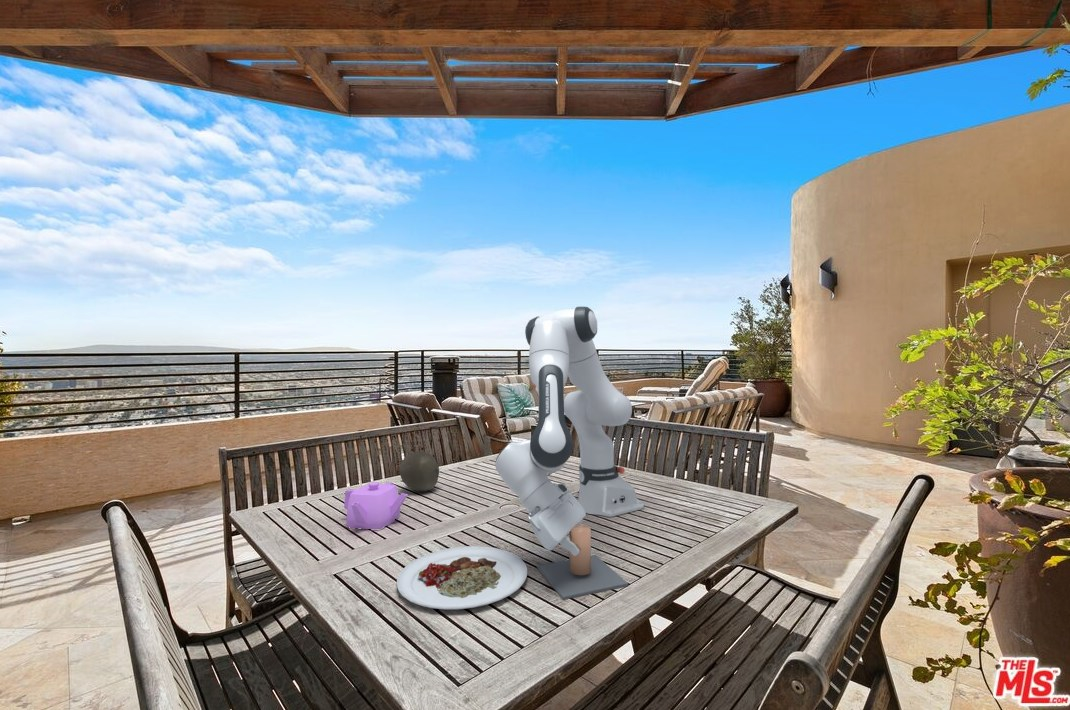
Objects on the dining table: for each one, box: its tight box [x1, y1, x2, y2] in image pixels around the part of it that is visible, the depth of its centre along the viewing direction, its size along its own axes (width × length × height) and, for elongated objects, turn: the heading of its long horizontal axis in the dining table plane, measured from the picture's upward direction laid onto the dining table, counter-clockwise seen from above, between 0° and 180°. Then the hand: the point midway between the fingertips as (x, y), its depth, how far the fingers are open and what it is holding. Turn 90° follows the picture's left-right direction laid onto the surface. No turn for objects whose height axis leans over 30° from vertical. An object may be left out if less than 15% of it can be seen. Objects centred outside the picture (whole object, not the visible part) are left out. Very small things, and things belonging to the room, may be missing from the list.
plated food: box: [396, 545, 528, 610], centre depth 113 cm, size 30×30×3 cm
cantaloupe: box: [399, 451, 440, 492], centre depth 182 cm, size 14×14×15 cm
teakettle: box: [343, 481, 408, 530], centre depth 151 cm, size 17×17×12 cm
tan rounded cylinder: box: [568, 523, 592, 575], centre depth 113 cm, size 5×5×10 cm
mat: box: [536, 554, 629, 601], centre depth 113 cm, size 16×16×1 cm
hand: (582, 547), depth 113 cm, fingers closed on tan rounded cylinder, 5 cm apart
